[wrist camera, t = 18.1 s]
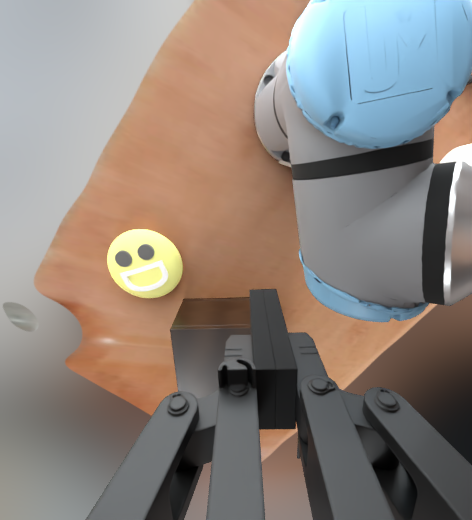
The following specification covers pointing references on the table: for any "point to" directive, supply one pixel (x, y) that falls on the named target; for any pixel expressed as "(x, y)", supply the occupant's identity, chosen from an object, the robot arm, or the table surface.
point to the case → (205, 340)
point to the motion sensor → (459, 155)
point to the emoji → (144, 263)
